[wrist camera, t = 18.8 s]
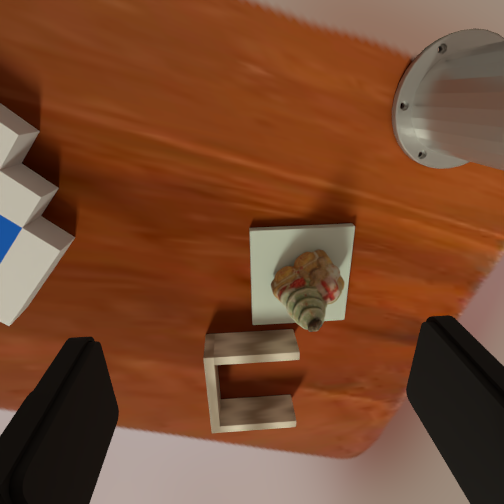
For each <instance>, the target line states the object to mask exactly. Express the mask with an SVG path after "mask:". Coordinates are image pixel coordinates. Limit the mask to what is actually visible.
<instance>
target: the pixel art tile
mask: <svg viewBox="0 0 504 504" xmlns="http://www.w3.org/2000/svg"><path fill="white" fill-rule="evenodd" d="M39 132H40V131H39V130H37V129H36V128H35V127H33V126H32V125H30V124H29V123H27V122H26V121H25V120H23V119H22V118H20V117H19V116H18V115H16V114H15V113H13V112H12V111H11V110H9V109H8V108H6V107H5V106H4V105H2V104H1V103H0V322H2V323H4V324H6V325H8V326H10V325H11V324H12V323H13V322H14V321H15V320H16V319H17V318H18V317H19V315H20V314H21V313H22V312H23V311H24V310H25V309H26V308H27V307H28V305H29V304H30V302H31V301H32V300H33V298H34V297H35V295H36V294H37V292H38V291H39V289H40V288H41V286H42V285H43V284H44V282H45V281H46V279H47V278H48V276H49V275H50V273H51V272H52V270H53V269H54V268H55V266H56V265H57V263H58V262H59V260H60V259H61V257H62V256H63V254H64V253H65V252H66V250H67V249H68V247H69V246H70V244H71V243H72V241H73V240H74V239H75V237H74V236H72V235H71V234H69V233H67V232H66V231H64V230H63V229H61V228H59V227H58V226H56V225H55V224H53V223H51V222H50V221H48V220H47V219H45V218H43V217H42V216H41V215H42V214H43V212H44V211H45V209H46V207H47V206H48V204H49V203H50V201H51V200H52V198H53V196H54V195H55V193H56V192H57V190H58V187H57V186H55V185H54V184H52V183H51V182H49V181H47V180H46V179H44V178H43V177H41V176H40V175H38V174H37V173H35V172H34V171H32V170H31V169H29V168H28V167H26V166H25V165H23V164H22V162H23V160H24V158H25V156H26V155H27V153H28V151H29V149H30V148H31V146H32V144H33V142H34V141H35V139H36V137H37V135H38V134H39Z"/></svg>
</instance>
